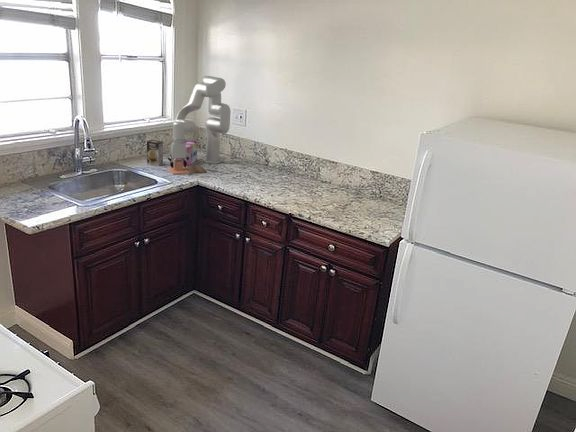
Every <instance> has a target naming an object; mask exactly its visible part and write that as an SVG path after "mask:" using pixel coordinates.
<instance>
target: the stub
mask: <svg viewBox="0 0 576 432" xmlns="http://www.w3.org/2000/svg"><path fill="white" fill-rule="evenodd" d="M167 171H169V172H170V173H171V174H172V175H173V176H174V175H175V176H176V175H191V174H190V172H189V171H188V170H187V169H186V168H185V167H184V166H183V161H182V160H181V159H174V160H173V168H172V167H171V166H167Z"/></svg>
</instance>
